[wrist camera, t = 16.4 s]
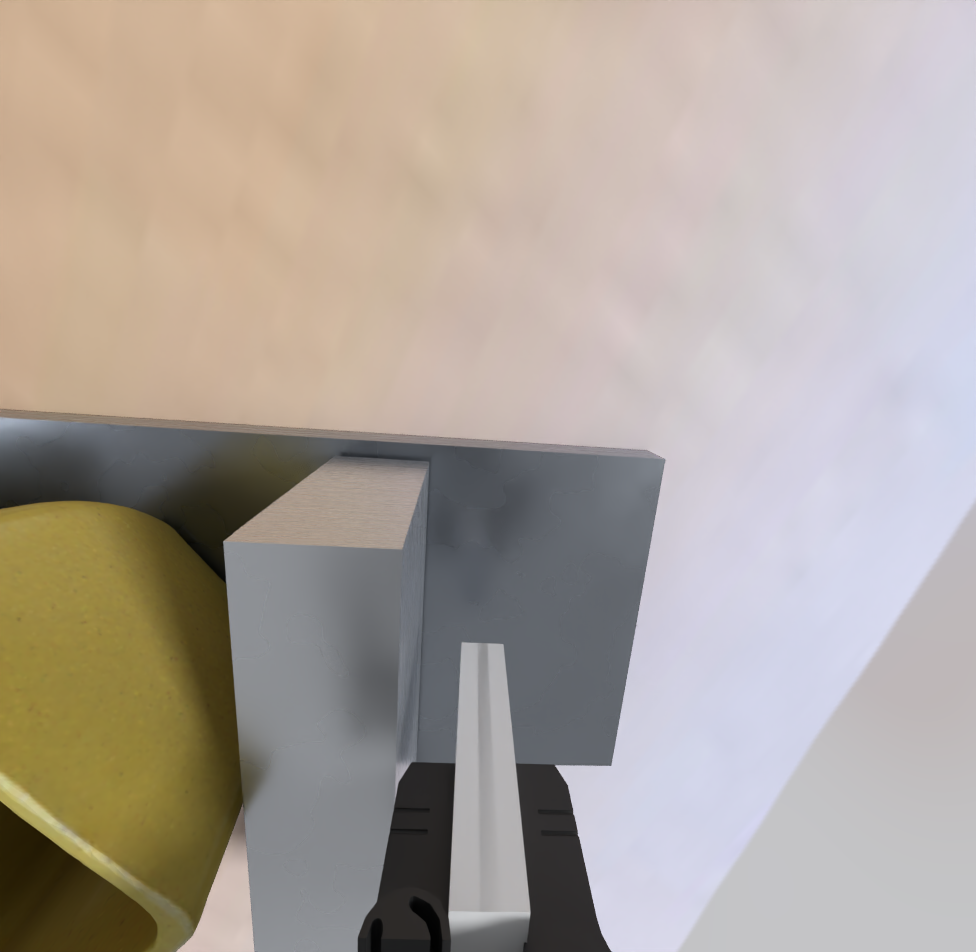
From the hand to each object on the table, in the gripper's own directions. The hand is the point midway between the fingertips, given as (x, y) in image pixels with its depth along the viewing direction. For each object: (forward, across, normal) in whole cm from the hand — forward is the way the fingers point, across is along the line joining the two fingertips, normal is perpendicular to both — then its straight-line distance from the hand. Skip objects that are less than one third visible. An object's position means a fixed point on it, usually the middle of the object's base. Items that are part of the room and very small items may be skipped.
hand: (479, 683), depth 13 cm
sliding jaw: (+3, -4, -3) cm, 6 cm away
